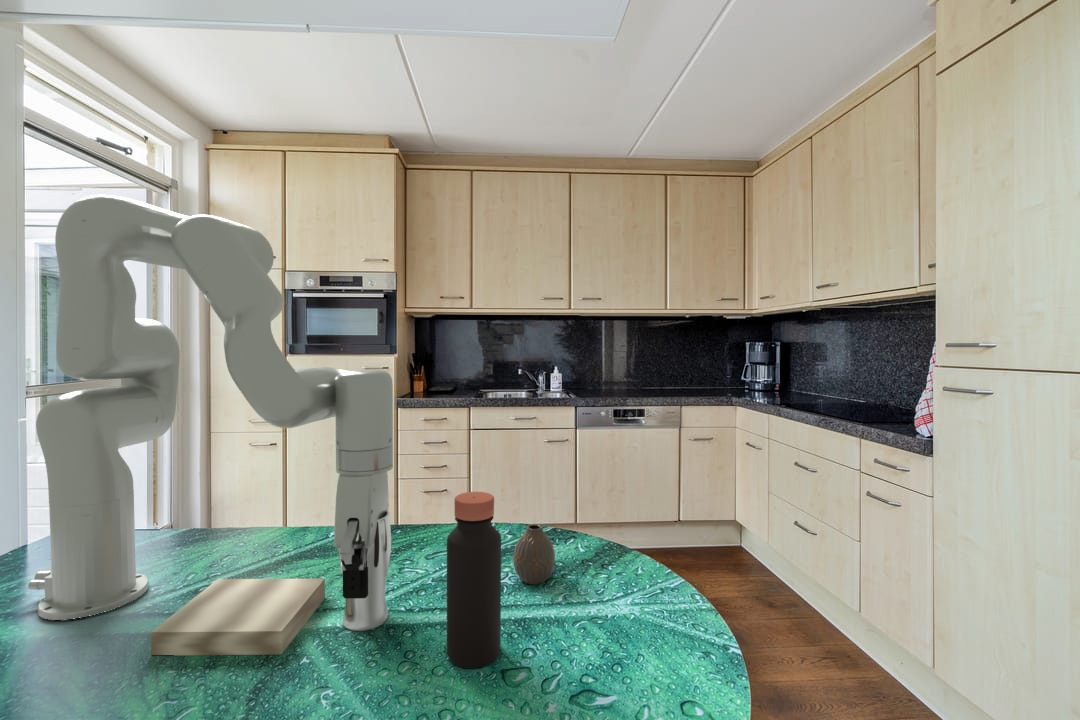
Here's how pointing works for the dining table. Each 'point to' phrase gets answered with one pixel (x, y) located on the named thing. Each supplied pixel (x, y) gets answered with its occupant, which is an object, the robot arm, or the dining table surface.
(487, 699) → the dining table surface
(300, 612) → the plate
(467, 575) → the bottle
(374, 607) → the beer glass
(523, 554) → the vase
